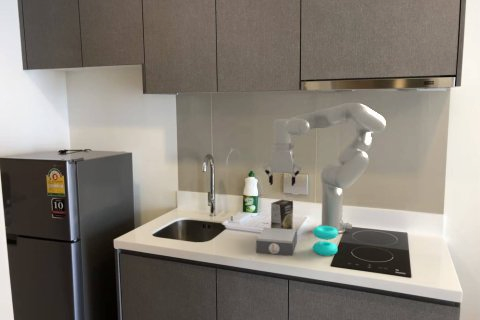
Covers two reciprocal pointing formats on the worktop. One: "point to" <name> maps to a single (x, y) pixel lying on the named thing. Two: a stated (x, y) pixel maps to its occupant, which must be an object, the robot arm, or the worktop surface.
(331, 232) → the donuts
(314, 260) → the worktop surface
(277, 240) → the scale
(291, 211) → the coffee box
